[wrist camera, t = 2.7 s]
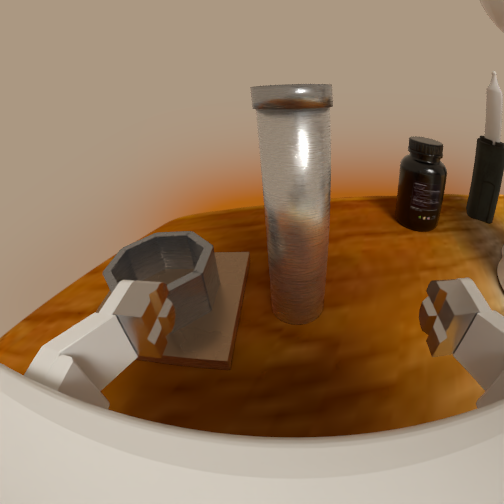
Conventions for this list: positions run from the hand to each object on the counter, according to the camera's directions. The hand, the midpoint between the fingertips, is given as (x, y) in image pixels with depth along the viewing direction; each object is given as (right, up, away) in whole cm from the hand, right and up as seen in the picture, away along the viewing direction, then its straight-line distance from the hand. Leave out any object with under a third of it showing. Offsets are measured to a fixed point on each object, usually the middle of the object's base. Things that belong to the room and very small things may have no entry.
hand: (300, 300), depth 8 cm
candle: (+37, +8, +28) cm, 47 cm away
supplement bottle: (+22, +6, +28) cm, 36 cm away
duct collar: (-9, -4, +18) cm, 21 cm away
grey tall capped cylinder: (+3, -3, +17) cm, 17 cm away
